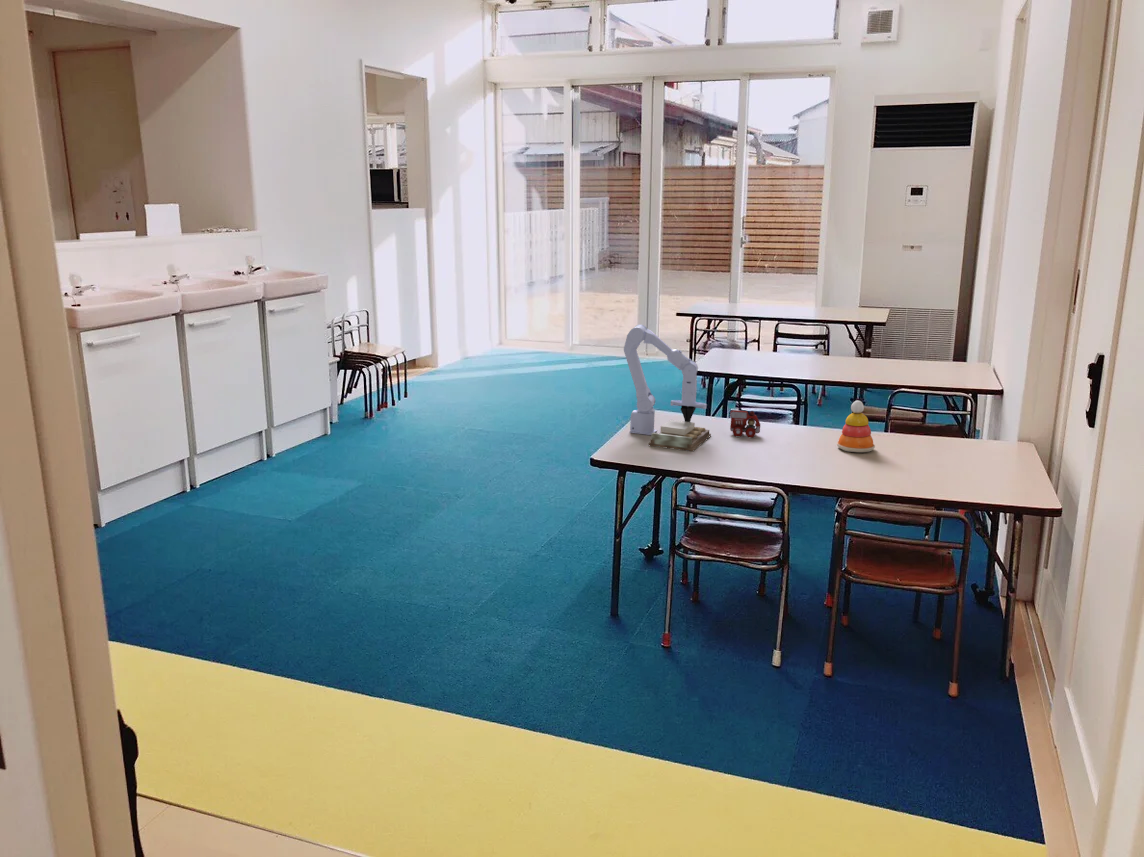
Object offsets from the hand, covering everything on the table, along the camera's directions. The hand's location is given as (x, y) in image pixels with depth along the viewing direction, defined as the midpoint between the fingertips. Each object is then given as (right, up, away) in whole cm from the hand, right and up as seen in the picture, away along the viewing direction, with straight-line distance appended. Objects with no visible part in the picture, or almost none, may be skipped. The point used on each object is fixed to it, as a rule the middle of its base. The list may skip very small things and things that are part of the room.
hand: (687, 424), depth 364 cm
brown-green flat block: (-4, -7, -7) cm, 10 cm away
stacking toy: (+63, -10, -16) cm, 66 cm away
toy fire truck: (+24, -5, +3) cm, 24 cm away
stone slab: (-5, -2, -6) cm, 8 cm away
